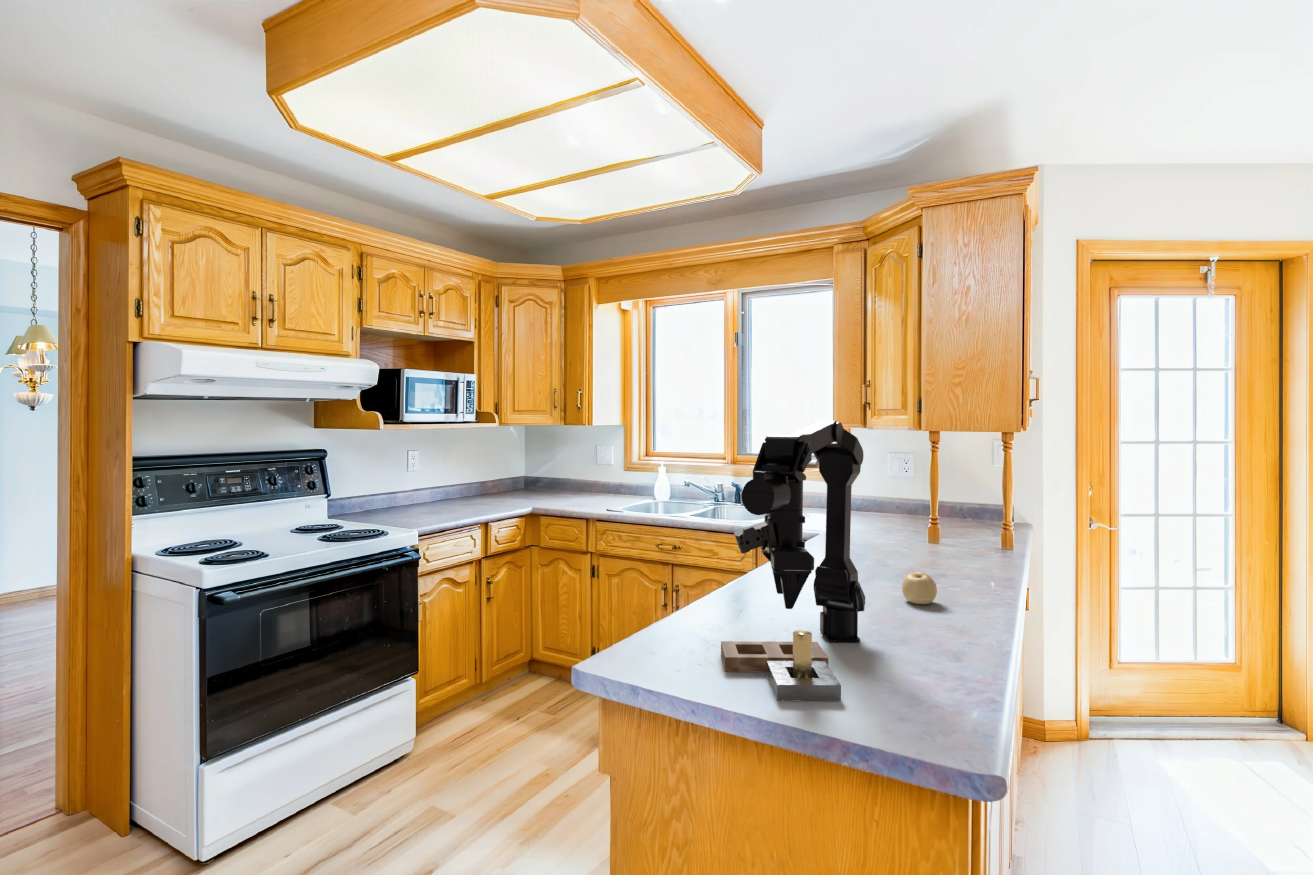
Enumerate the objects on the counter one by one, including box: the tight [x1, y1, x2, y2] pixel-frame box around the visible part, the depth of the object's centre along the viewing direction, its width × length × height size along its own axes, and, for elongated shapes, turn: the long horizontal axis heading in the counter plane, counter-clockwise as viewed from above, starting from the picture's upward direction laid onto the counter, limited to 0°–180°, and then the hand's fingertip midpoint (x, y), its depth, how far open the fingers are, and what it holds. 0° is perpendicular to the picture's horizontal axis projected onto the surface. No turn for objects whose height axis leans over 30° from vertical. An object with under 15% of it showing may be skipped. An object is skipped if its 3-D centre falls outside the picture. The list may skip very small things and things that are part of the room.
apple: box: [901, 571, 938, 605], centre depth 154 cm, size 8×8×8 cm
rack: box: [720, 640, 829, 673], centre depth 115 cm, size 18×8×2 cm, turn 89°
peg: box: [792, 629, 813, 678], centre depth 105 cm, size 3×3×9 cm
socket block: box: [766, 661, 842, 702], centre depth 105 cm, size 10×10×2 cm
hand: (784, 600), depth 108 cm, fingers open, 9 cm apart
